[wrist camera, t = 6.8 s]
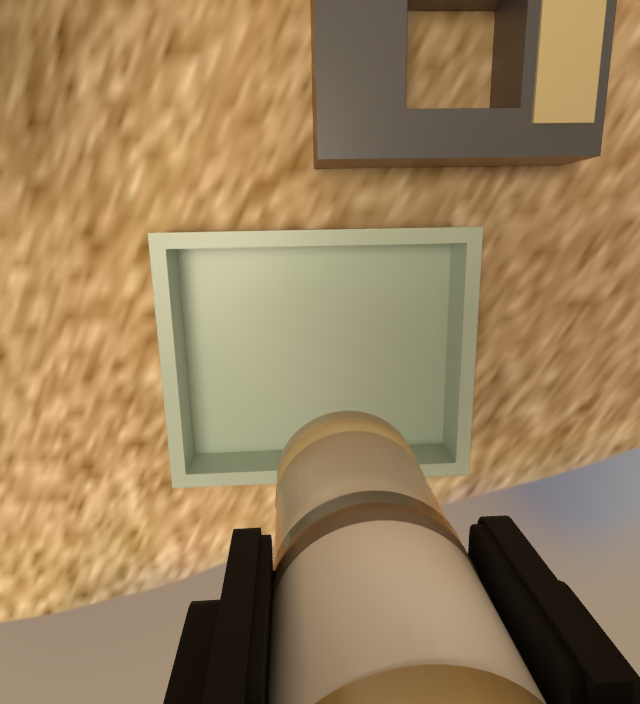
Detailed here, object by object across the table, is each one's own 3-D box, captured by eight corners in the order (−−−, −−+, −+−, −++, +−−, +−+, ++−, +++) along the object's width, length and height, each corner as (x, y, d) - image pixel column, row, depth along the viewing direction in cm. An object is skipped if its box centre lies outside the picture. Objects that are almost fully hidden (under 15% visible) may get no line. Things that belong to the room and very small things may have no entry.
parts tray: (461, 226, 29) (483, 226, 26) (450, 449, 33) (468, 474, 29) (164, 232, 29) (147, 232, 25) (185, 460, 32) (172, 488, 28)
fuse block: (576, -37, 26) (628, -85, 22) (558, 165, 29) (602, 155, 25) (309, -39, 26) (313, -89, 22) (313, 168, 28) (317, 158, 24)
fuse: (416, 408, 14) (674, 776, 5) (413, 533, 15) (621, 1051, 6) (274, 413, 14) (238, 810, 5) (279, 540, 15) (260, 1089, 6)
